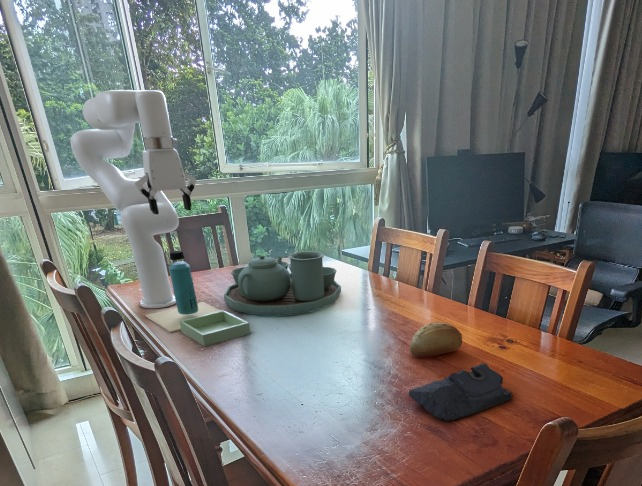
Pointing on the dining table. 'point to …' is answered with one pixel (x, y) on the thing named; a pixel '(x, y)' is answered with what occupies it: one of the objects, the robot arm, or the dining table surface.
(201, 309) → the mat
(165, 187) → the robot arm
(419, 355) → the bread roll
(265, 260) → the tea set
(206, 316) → the tray
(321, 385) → the dining table surface
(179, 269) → the beverage bottle
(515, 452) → the dining table surface
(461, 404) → the folded black shirt
